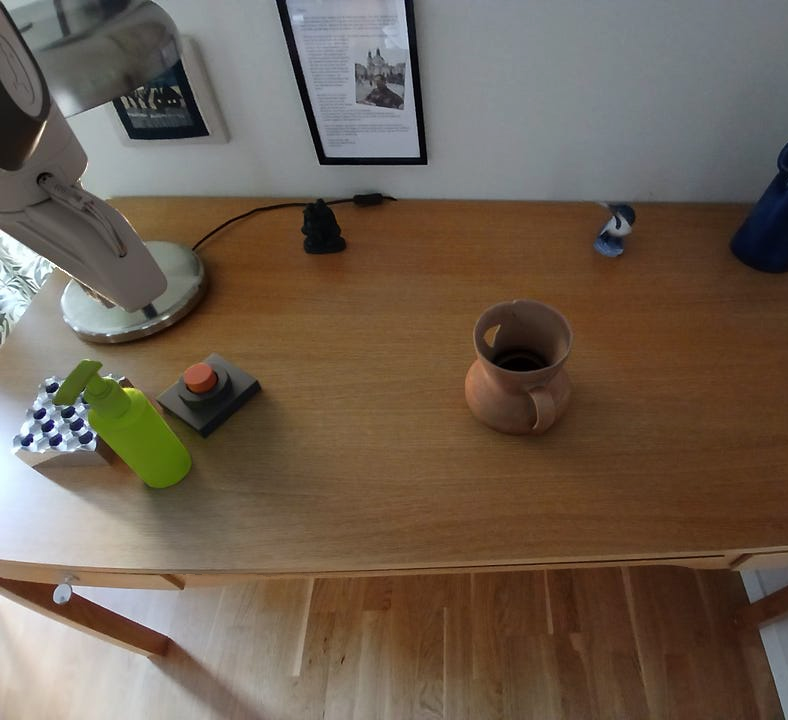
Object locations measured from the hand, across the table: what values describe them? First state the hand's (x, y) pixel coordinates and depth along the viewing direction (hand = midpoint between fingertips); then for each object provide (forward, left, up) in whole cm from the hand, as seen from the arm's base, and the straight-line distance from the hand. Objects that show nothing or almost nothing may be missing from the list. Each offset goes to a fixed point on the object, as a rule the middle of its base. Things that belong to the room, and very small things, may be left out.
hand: (107, 298), depth 49 cm
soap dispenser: (-5, +5, -29) cm, 30 cm away
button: (+6, +9, -25) cm, 28 cm away
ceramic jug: (+29, -27, -29) cm, 49 cm away
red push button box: (+6, +9, -29) cm, 31 cm away
